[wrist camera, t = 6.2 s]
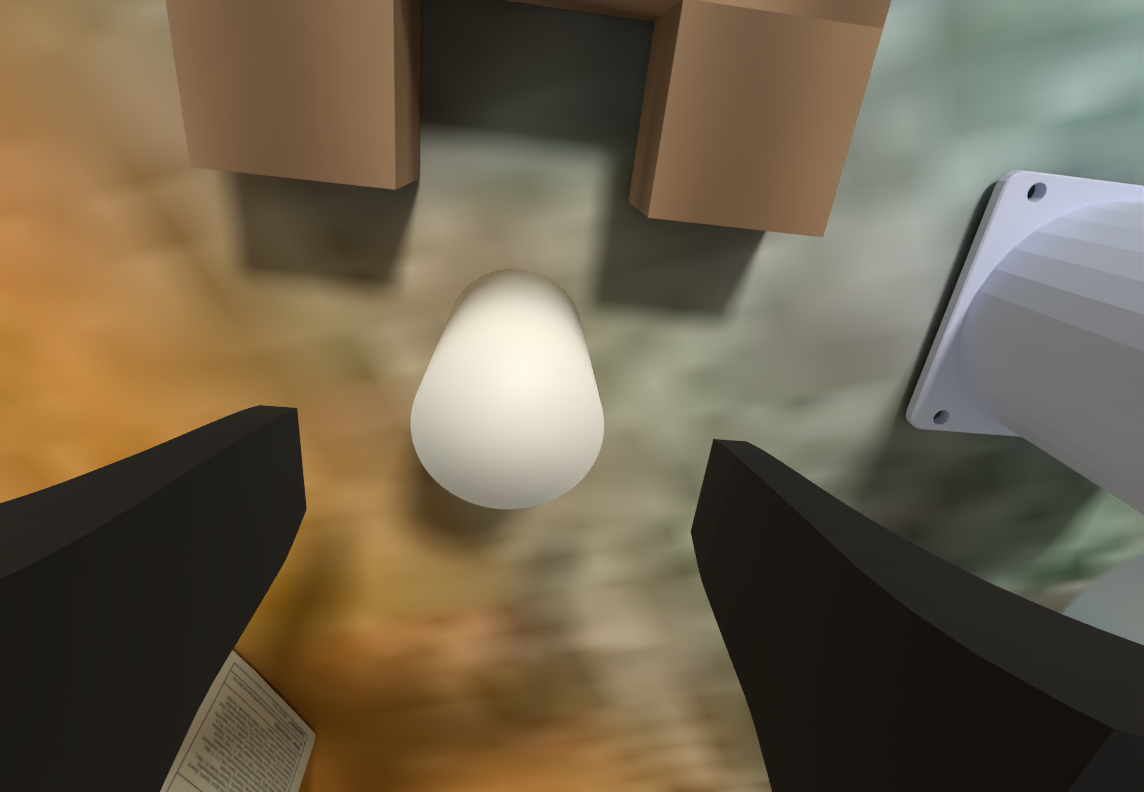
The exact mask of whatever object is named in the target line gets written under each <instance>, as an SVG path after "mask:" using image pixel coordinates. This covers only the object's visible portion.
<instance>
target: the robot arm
mask: <svg viewBox="0 0 1144 792" xmlns="http://www.w3.org/2000/svg"><path fill="white" fill-rule="evenodd" d="M1033 185H1035V192H1034V193H1033V195H1032V196H1031V197H1030V198H1029V199H1028V198H1027V194H1028V191H1029V189H1030V188H1031V186H1033ZM939 411H941V414H940V415H939V416H938V417H937V418H935V419H934V416H935V414H936V413H938V412H939ZM906 418H907V421H908V422H909V423H910V424H912V425H913V426H914V427H916V428H919V429H926V430H939V431H952V432H965V433H978V434H991V435H1005V436H1018V437H1022V438H1024V439H1026V440H1027V441H1029V442H1030V443H1032V444H1033V445H1035V446H1037V447H1038V448H1040V449H1041V450H1043V451H1044V452H1046V453H1048V454H1049V455H1051V456H1052V457H1054V458H1055V459H1057V460H1059V461H1060V462H1062V463H1063V464H1065V465H1066V466H1068V467H1070V468H1071V469H1073V470H1074V471H1076V472H1077V473H1079V474H1081V475H1082V476H1084V477H1085V478H1087V479H1088V480H1090V481H1092V482H1093V483H1095V484H1096V485H1098V486H1099V487H1101V488H1102V489H1104V490H1106V491H1107V492H1109V493H1110V494H1112V495H1113V496H1115V497H1117V498H1118V499H1120V500H1121V501H1123V502H1124V503H1126V504H1128V505H1129V506H1131V507H1132V508H1134V509H1135V510H1137V511H1139V512H1140V513H1142V514H1143V515H1144V186H1141V185H1133V184H1125V183H1117V182H1109V181H1102V180H1094V179H1086V178H1078V177H1070V176H1063V175H1055V174H1047V173H1039V172H1031V171H1022V170H1015V171H1010V172H1008V173H1006V174H1005V175H1003V176H1002V177H1001V178H1000V179H999V180H998V182H997V184H996V186H995V187H994V190H993V192H992V195H991V198H990V200H989V203H988V205H987V208H986V210H985V213H984V215H983V218H982V220H981V223H980V225H979V228H978V231H977V233H976V236H975V238H974V241H973V243H972V246H971V248H970V251H969V253H968V256H967V258H966V261H965V264H964V266H963V269H962V271H961V274H960V276H959V279H958V281H957V284H956V286H955V289H954V291H953V294H952V297H951V299H950V302H949V304H948V307H947V309H946V312H945V314H944V317H943V319H942V322H941V325H940V327H939V330H938V332H937V335H936V337H935V340H934V342H933V345H932V347H931V350H930V352H929V355H928V358H927V360H926V363H925V365H924V368H923V370H922V373H921V375H920V378H919V380H918V383H917V385H916V388H915V391H914V393H913V396H912V398H911V401H910V403H909V406H908V408H907V411H906ZM305 512H306V498H305V487H304V477H303V466H302V455H301V445H300V434H299V423H298V412H297V408H289V407H276V406H262V405H259V406H255V407H251V408H248V409H245V410H242V411H239V412H237V413H234V414H231V415H229V416H226V417H224V418H221V419H219V420H217V421H214V422H212V423H209V424H207V425H205V426H202V427H200V428H198V429H195V430H193V431H190V432H188V433H186V434H183V435H181V436H179V437H176V438H174V439H171V440H169V441H167V442H164V443H162V444H160V445H157V446H155V447H153V448H150V449H148V450H145V451H143V452H141V453H138V454H135V455H133V456H130V457H128V458H125V459H123V460H120V461H117V462H115V463H112V464H110V465H107V466H104V467H102V468H99V469H97V470H94V471H92V472H89V473H86V474H84V475H81V476H79V477H76V478H73V479H71V480H68V481H66V482H63V483H60V484H57V485H54V486H51V487H49V488H46V489H43V490H40V491H37V492H34V493H31V494H28V495H25V496H22V497H19V498H16V499H13V500H10V501H6V502H3V503H0V792H160V791H161V789H162V787H163V784H164V782H165V780H166V778H167V775H168V773H169V771H170V769H171V767H172V765H173V763H174V760H175V758H176V756H177V754H178V752H179V750H180V748H181V746H182V743H183V741H184V739H185V737H186V735H187V733H188V731H189V728H190V726H191V724H192V722H193V720H194V718H195V716H196V714H197V712H198V710H199V708H200V706H201V704H202V702H203V700H204V698H205V697H206V695H207V693H208V691H209V689H210V687H211V686H212V684H213V682H214V680H215V678H216V677H217V675H218V673H219V672H220V670H221V668H222V667H223V665H224V663H225V662H226V660H227V658H228V657H229V655H230V653H231V652H232V650H233V648H234V647H235V645H236V643H237V642H238V640H239V638H240V636H241V635H242V633H243V631H244V630H245V628H246V626H247V625H248V623H249V621H250V620H251V618H252V616H253V615H254V613H255V611H256V610H257V608H258V606H259V605H260V603H261V601H262V600H263V598H264V596H265V595H266V593H267V591H268V589H269V588H270V586H271V584H272V583H273V581H274V579H275V578H276V576H277V574H278V572H279V571H280V569H281V567H282V565H283V564H284V562H285V560H286V558H287V556H288V553H289V551H290V549H291V546H292V544H293V542H294V539H295V537H296V535H297V532H298V529H299V527H300V524H301V522H302V519H303V517H304V514H305ZM691 535H692V540H693V545H694V550H695V554H696V559H697V563H698V568H699V572H700V576H701V580H702V583H703V586H704V589H705V591H706V594H707V597H708V600H709V602H710V605H711V608H712V610H713V613H714V616H715V619H716V621H717V624H718V627H719V629H720V632H721V634H722V637H723V640H724V642H725V645H726V648H727V650H728V653H729V655H730V658H731V661H732V663H733V666H734V669H735V671H736V674H737V676H738V679H739V682H740V684H741V687H742V690H743V692H744V695H745V698H746V701H747V704H748V707H749V710H750V713H751V716H752V719H753V722H754V725H755V729H756V732H757V736H758V740H759V744H760V747H761V751H762V755H763V758H764V762H765V766H766V770H767V773H768V777H769V781H770V785H771V788H772V792H1144V645H1141V644H1138V643H1136V642H1133V641H1130V640H1127V639H1125V638H1122V637H1119V636H1117V635H1114V634H1111V633H1108V632H1106V631H1103V630H1100V629H1098V628H1095V627H1093V626H1090V625H1088V624H1085V623H1082V622H1080V621H1078V620H1075V619H1072V618H1070V617H1067V616H1065V615H1062V614H1060V613H1057V612H1055V611H1053V610H1050V609H1048V608H1046V607H1043V606H1041V605H1039V604H1036V603H1034V602H1032V601H1030V600H1027V599H1025V598H1023V597H1020V596H1018V595H1016V594H1013V593H1011V592H1009V591H1007V590H1004V589H1002V588H1000V587H997V586H995V585H993V584H991V583H989V582H987V581H985V580H982V579H980V578H978V577H976V576H974V575H972V574H970V573H968V572H966V571H964V570H962V569H960V568H958V567H956V566H954V565H952V564H950V563H948V562H946V561H944V560H942V559H940V558H938V557H936V556H934V555H932V554H930V553H929V552H927V551H925V550H923V549H921V548H919V547H917V546H915V545H913V544H912V543H910V542H908V541H906V540H904V539H903V538H901V537H899V536H897V535H896V534H894V533H892V532H891V531H889V530H887V529H886V528H884V527H882V526H881V525H879V524H877V523H875V522H874V521H872V520H870V519H869V518H867V517H865V516H864V515H862V514H860V513H859V512H857V511H856V510H854V509H852V508H851V507H849V506H848V505H846V504H845V503H843V502H841V501H840V500H838V499H837V498H835V497H834V496H832V495H831V494H829V493H828V492H826V491H824V490H823V489H821V488H820V487H818V486H817V485H815V484H814V483H812V482H811V481H809V480H808V479H806V478H805V477H803V476H802V475H800V474H799V473H797V472H796V471H794V470H793V469H791V468H790V467H788V466H787V465H785V464H784V463H782V462H781V461H779V460H778V459H776V458H774V457H773V456H771V455H770V454H768V453H767V452H765V451H763V450H762V449H760V448H758V447H756V446H754V445H752V444H750V443H748V442H745V441H732V440H719V439H713V443H712V447H711V451H710V455H709V460H708V464H707V468H706V472H705V476H704V480H703V484H702V488H701V492H700V496H699V500H698V504H697V508H696V512H695V517H694V521H693V525H692V529H691Z"/></svg>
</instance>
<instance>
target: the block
mask: <svg viewBox="0 0 1144 792" xmlns="http://www.w3.org/2000/svg"><path fill="white" fill-rule="evenodd" d="M504 1H511V2H518V3H525V4H531V5H538V6H545V7H552V8H559V9H565V10H572V11H579V12H586V13H593V14H600V15H606V16H613V17H620V18H627V19H634V20H640V21H647V22H654V30H653V36H652V43H651V50H650V57H649V64H648V70H647V77H646V84H645V91H644V98H643V104H642V111H641V118H640V125H639V132H638V138H637V145H636V152H635V159H634V166H633V172H632V179H631V186H630V193H629V200H628V202H629V203H630V204H631V205H633V206H634V207H635V208H636V209H638V210H639V211H640V212H641V213H643V214H644V215H645V216H646V217H648V218H655V219H664V220H673V221H682V222H691V223H700V224H709V225H718V226H727V227H736V228H745V229H754V230H763V231H772V232H781V233H790V234H799V235H808V236H817V237H823V235H824V232H825V228H826V225H827V222H828V218H829V215H830V211H831V208H832V204H833V201H834V197H835V194H836V190H837V187H838V183H839V180H840V176H841V173H842V169H843V166H844V162H845V159H846V155H847V152H848V148H849V145H850V141H851V138H852V135H853V131H854V128H855V124H856V121H857V117H858V114H859V110H860V107H861V103H862V100H863V96H864V93H865V89H866V86H867V82H868V79H869V75H870V72H871V68H872V65H873V61H874V58H875V54H876V51H877V47H878V44H879V41H880V37H881V34H882V30H883V27H884V23H885V20H886V16H887V13H888V9H889V6H890V2H891V0H504ZM166 5H167V12H168V19H169V26H170V32H171V39H172V46H173V52H174V59H175V66H176V73H177V79H178V86H179V93H180V99H181V106H182V113H183V120H184V126H185V133H186V140H187V146H188V153H189V160H190V167H195V168H204V169H213V170H222V171H231V172H240V173H249V174H258V175H267V176H276V177H285V178H294V179H303V180H312V181H321V182H330V183H339V184H348V185H357V186H366V187H375V188H384V189H393V190H396V189H398V188H400V187H403V186H405V185H407V184H409V183H411V182H413V181H415V180H417V179H419V178H420V20H421V0H166Z"/></svg>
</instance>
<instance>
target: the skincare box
mask: <svg viewBox="0 0 1144 792" xmlns="http://www.w3.org/2000/svg"><path fill="white" fill-rule="evenodd" d="M315 739H316V734H315V733H314V732H313V731H312V730H311V729H310V728H309V726H308V725H307V724H306V723H305V722H304V721H303V720H302V719H301V718H300V717H299V716H298V715H297V714H296V712H295V711H294V710H293V709H292V708H291V707H290V706H289V705H288V704H287V703H286V702H285V701H284V700H283V699H282V698H281V697H280V696H279V695H278V694H277V693H276V692H275V691H274V690H273V689H272V688H271V687H270V686H269V685H268V684H267V683H266V682H265V680H264V679H263V678H262V677H261V676H260V675H259V674H258V673H257V672H256V671H255V670H254V669H253V668H251V667H250V666H249V665H248V664H247V663H246V662H245V661H244V660H243V659H242V658H241V657H240V656H239V655H238V654H237V653H236V652H235V651H234V650H232V652H231V653H230V655H229V657H228V658H227V660H226V662H225V663H224V665H223V667H222V668H221V670H220V672H219V673H218V675H217V677H216V678H215V680H214V682H213V684H212V686H211V687H210V689H209V691H208V693H207V695H206V697H205V698H204V700H203V702H202V704H201V706H200V708H199V710H198V712H197V714H196V716H195V718H194V720H193V722H192V724H191V726H190V728H189V731H188V733H187V735H186V737H185V739H184V741H183V743H182V746H181V748H180V750H179V752H178V754H177V756H176V758H175V760H174V763H173V765H172V767H171V769H170V771H169V773H168V775H167V778H166V780H165V782H164V784H163V787H162V789H161V791H160V792H299V789H300V785H301V782H302V779H303V776H304V773H305V770H306V767H307V764H308V761H309V758H310V754H311V751H312V748H313V745H314V742H315Z"/></svg>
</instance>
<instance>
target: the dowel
mask: <svg viewBox="0 0 1144 792" xmlns="http://www.w3.org/2000/svg"><path fill="white" fill-rule="evenodd" d="M411 435H412V441H413V444H414V447H415V451H416V453H417V455H418V457H419V459H420V461H421V463H422V464H423V466H424V468H425V469H426V470H427V472H428V473H429V474H430V475H431V476H432V478H433V479H434V480H435V481H436V482H438V483H439V484H440V485H441V486H442V487H443V488H445V489H446V490H447V491H449V492H450V493H452V494H453V495H455V496H457V497H459V498H461V499H463V500H465V501H468V502H470V503H473V504H476V505H479V506H483V507H488V508H494V509H506V510H509V509H523V508H530V507H534V506H538V505H541V504H544V503H547V502H549V501H552V500H554V499H556V498H558V497H560V496H562V495H563V494H565V493H566V492H568V491H569V490H571V489H572V488H573V487H574V486H575V485H577V484H578V483H579V482H580V481H581V480H582V479H583V478H584V477H585V475H586V474H587V473H588V472H589V470H590V469H591V467H592V466H593V464H594V462H595V460H596V458H597V456H598V454H599V451H600V448H601V445H602V440H603V435H604V418H603V410H602V406H601V402H600V398H599V394H598V390H597V386H596V382H595V378H594V374H593V370H592V366H591V361H590V357H589V353H588V349H587V345H586V341H585V337H584V333H583V329H582V325H581V321H580V317H579V314H578V311H577V309H576V306H575V304H574V303H573V301H572V299H571V298H570V297H569V295H568V294H567V293H566V292H565V291H564V290H563V289H562V288H561V287H560V286H559V285H558V284H557V283H555V282H554V281H552V280H551V279H549V278H547V277H545V276H544V275H541V274H538V273H536V272H532V271H528V270H522V269H506V270H499V271H496V272H492V273H489V274H487V275H485V276H482V277H481V278H479V279H477V280H476V281H474V282H473V283H472V284H471V285H469V286H468V287H467V288H466V289H465V290H464V291H463V292H462V294H461V295H460V296H459V298H458V299H457V301H456V303H455V305H454V307H453V309H452V311H451V314H450V316H449V319H448V321H447V323H446V326H445V328H444V330H443V333H442V335H441V337H440V340H439V342H438V345H437V347H436V349H435V352H434V354H433V356H432V359H431V361H430V363H429V366H428V368H427V371H426V373H425V375H424V378H423V380H422V382H421V385H420V387H419V389H418V392H417V394H416V397H415V400H414V403H413V406H412V412H411Z"/></svg>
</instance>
